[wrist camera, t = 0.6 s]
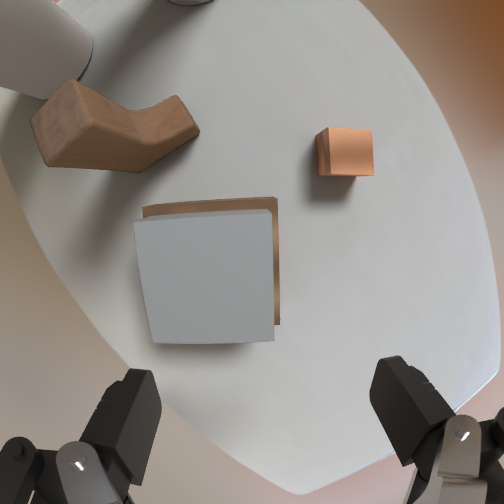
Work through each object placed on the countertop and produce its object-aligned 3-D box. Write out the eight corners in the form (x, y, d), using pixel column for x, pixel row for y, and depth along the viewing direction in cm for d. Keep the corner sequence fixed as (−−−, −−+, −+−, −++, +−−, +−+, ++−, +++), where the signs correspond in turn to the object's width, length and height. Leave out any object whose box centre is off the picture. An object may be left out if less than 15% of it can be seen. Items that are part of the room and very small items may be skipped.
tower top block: (151, 215, 27) (133, 222, 22) (266, 208, 28) (271, 213, 23) (165, 320, 30) (153, 343, 25) (269, 317, 30) (274, 341, 25)
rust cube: (316, 135, 30) (328, 126, 25) (354, 137, 30) (371, 130, 25) (318, 175, 31) (330, 174, 27) (356, 176, 31) (373, 175, 27)
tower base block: (156, 204, 32) (142, 207, 27) (272, 196, 32) (277, 198, 27) (169, 310, 35) (159, 328, 30) (275, 306, 35) (279, 324, 31)
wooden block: (184, 104, 29) (128, 32, 11) (201, 133, 30) (156, 77, 12) (123, 145, 30) (27, 120, 12) (139, 174, 31) (44, 169, 13)
